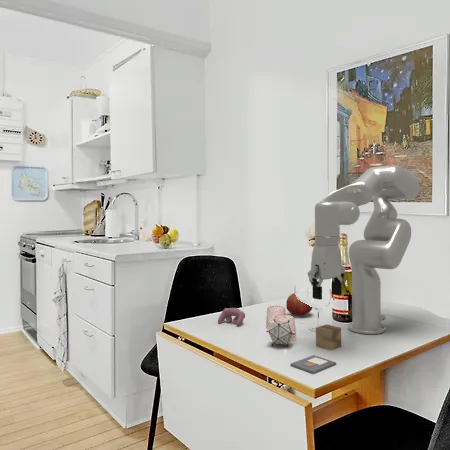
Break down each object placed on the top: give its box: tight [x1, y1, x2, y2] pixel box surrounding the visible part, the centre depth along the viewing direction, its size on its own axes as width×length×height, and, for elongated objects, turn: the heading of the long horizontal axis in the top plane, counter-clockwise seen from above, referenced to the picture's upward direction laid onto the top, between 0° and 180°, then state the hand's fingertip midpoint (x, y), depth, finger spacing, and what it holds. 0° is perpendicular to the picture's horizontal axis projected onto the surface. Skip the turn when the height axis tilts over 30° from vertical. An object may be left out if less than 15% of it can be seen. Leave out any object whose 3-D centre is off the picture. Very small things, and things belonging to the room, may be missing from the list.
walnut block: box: [315, 324, 342, 351], centre depth 136 cm, size 6×6×6 cm
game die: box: [266, 318, 296, 348], centre depth 138 cm, size 9×8×10 cm
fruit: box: [285, 292, 313, 316], centre depth 174 cm, size 11×10×10 cm
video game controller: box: [217, 307, 246, 328], centre depth 165 cm, size 10×5×7 cm, turn 58°
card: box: [289, 354, 337, 375], centre depth 121 cm, size 10×8×1 cm
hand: (327, 296), depth 135 cm, fingers open, 9 cm apart
